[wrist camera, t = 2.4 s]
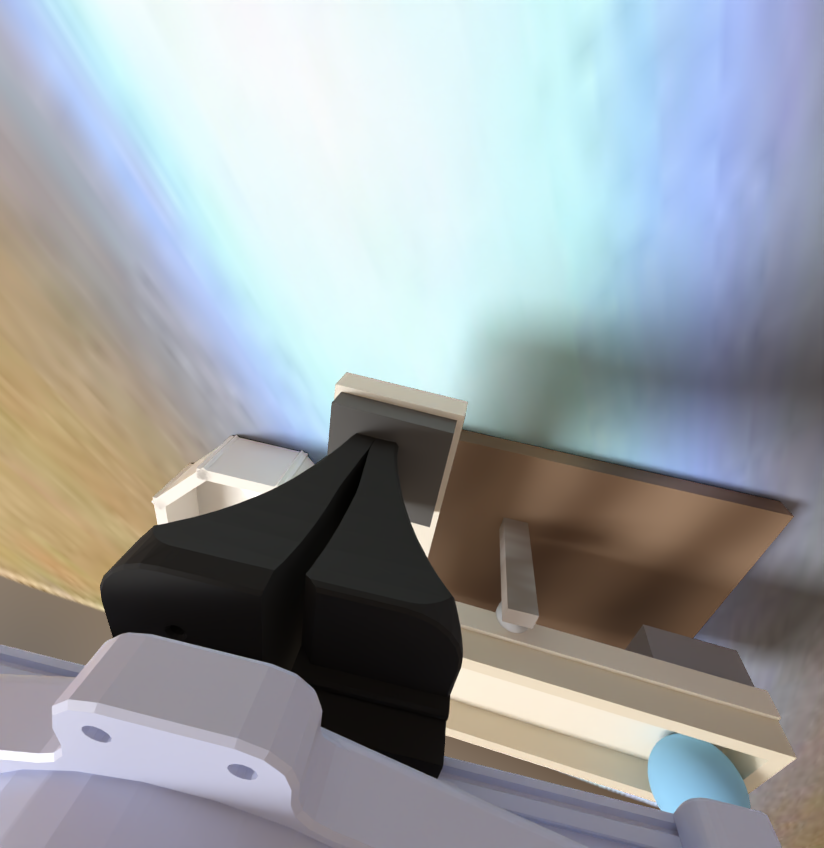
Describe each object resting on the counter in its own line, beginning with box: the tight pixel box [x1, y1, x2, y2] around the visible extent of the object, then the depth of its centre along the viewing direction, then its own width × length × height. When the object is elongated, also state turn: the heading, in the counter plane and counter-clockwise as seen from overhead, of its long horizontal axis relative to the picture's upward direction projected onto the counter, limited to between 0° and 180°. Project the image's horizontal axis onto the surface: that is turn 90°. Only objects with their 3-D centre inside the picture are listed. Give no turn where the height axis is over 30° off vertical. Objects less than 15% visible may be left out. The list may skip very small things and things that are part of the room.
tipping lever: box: [327, 372, 796, 802], centre depth 17 cm, size 18×15×4 cm
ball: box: [648, 733, 750, 814], centre depth 16 cm, size 3×3×3 cm
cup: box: [151, 435, 315, 525], centre depth 23 cm, size 10×10×3 cm
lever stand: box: [428, 430, 794, 650], centre depth 21 cm, size 18×15×6 cm
